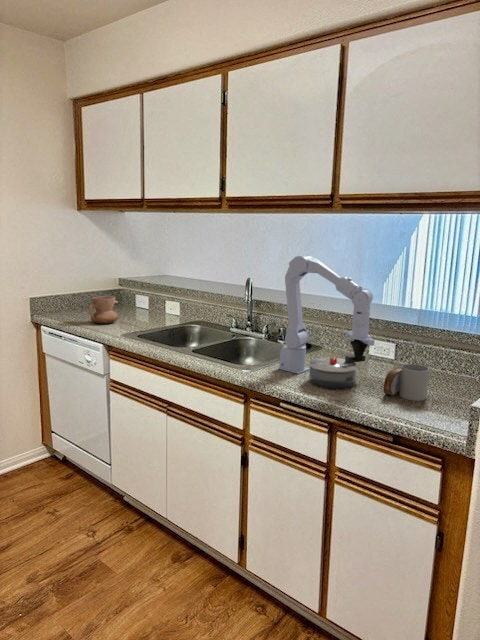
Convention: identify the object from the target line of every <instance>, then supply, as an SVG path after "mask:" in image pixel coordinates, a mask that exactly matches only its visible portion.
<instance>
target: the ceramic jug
mask: <svg viewBox="0 0 480 640" xmlns="http://www.w3.org/2000/svg"><path fill="white" fill-rule="evenodd" d="M91 302H92V304H90V305H89V306H88V312H89V315H90V320H91V322H93V323H95V324H99V325H100V324H101V325H109V324H113V323H115V322H117V321H118V319H119V315H118V313H117V312H115V311H113V308H114V307H115V304H118V303H119V301H117V300H116V296H113V295H99V296H94V297H91ZM93 308H94V309H95V310H96V311H94V313H93Z"/></svg>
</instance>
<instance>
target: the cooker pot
mask: <svg viewBox="0 0 480 640" xmlns="http://www.w3.org/2000/svg"><path fill="white" fill-rule="evenodd" d="M356 370H357V369H356ZM356 370H355V371H353V372H348V373H329V372H323V371H319V370H316V369H313V368H312V367H310V366H309V376H308V377H309V380H308V381H309V382H308V383H310V384H311V385H312V386H314V387H317V388H319V389H323V390H329V391H344V390H345V391H346V390H349V389H353V388H354V387H355V382H356V372H357V371H356Z"/></svg>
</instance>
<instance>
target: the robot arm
mask: <svg viewBox="0 0 480 640" xmlns="http://www.w3.org/2000/svg"><path fill="white" fill-rule="evenodd" d="M288 265H289V266H288V268H287V271H286V273H285V275H284V276H285V277H284V284H285V294H286V305H287V307H286V308H287V316H288V317H287V318H288V319H287V320H288V325H287V327H286V329H285V332H286V333H285V337H284V343H285V345H283V346H282V347H281V349H280V352H279V366H278V367H277V368H278V370H282V371H286V372H290V373H294V374H298V375H300V374H302V373H304V372H307V371H310V367H306V358H307V357H306V356H307V345H306V344H307V343H308V341H309V339H310V335H309V332H308V330H307V326H306V324H305V323H304V319H303V307H302V306H303V305H302V298H301V297H302V295H301V283H300V281H301V280H302V279H303V278H304V277H305V276H306V275H307V274H318V275H319V276H321V277H322V278H324V279H325V280H327V281H329V282H330V283H332V284H334V286H335V290H336V291H337V292H338V293H341V294H342V295H343V296H345V297H346V298H347V299H349V300H351V303H352V305H353V311H352V312H353V313H352V324H351V325H352V328H351V331H346V333H345V337H346V338H351V339H353V340H350V341H349V342H350V345H351V347H352V351H353V355H355V361H361V360H362V356H363V355H364V352H365V351H366V349H367V347H372V346H375V339H373V338H372V337H371V335H370V334H369V330H370V329H369V328H370V318H371V317H370V316H371V310H370V309H371V303H372V302H373V300H374V297H373V293H372V292H371V291H370V289H368V288H364V286H362V285H359V284H357V283H356V282H354V281H353V278H352V277H349V276H348V277H347V276H342V277H341V276H340V275H339V274H338V273H336V272H335V271H333V270H332V269H331V268H329V267H328V266H327V265H325V264H324V263H323V262H322V261H321V260H319V259H318V258H316V257H314V256H313V255H310V254H305V255H297V256H295V257H294V258H292V259H291V260H290V261H289V262H288Z"/></svg>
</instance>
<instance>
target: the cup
mask: <svg viewBox="0 0 480 640" xmlns="http://www.w3.org/2000/svg"><path fill="white" fill-rule="evenodd" d="M401 367H402V372H401V383H400V392H399V397H400V398H402V399H405V400H409V401H412V402H413V401H415V402H422V401H425V400H426V399H427V394H428V393H427V392H428V382H429V375H430V374H429V373H430V368H429V367H428V366H425V365H421V364H418V363H417V364H415V363H405V364H403V365H402V366H401Z"/></svg>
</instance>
